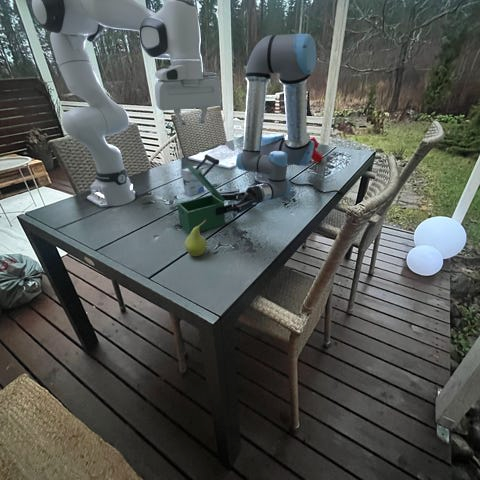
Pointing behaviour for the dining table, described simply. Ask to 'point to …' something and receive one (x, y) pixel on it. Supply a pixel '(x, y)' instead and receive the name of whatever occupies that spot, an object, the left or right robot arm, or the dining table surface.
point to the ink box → (191, 182)
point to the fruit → (196, 242)
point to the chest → (200, 213)
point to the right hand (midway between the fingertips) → (210, 206)
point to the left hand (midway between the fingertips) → (192, 124)
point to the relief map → (219, 156)
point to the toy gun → (316, 155)
